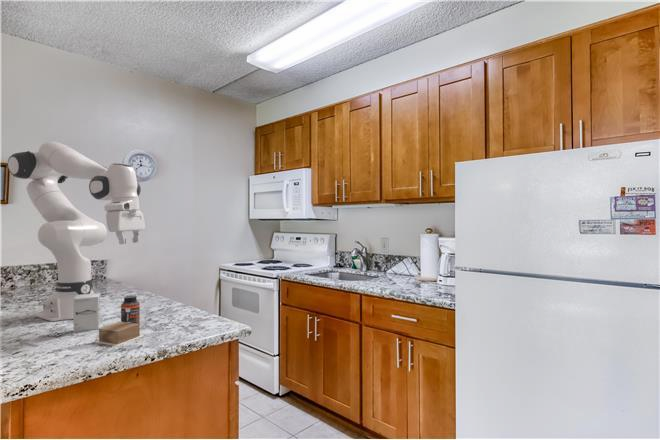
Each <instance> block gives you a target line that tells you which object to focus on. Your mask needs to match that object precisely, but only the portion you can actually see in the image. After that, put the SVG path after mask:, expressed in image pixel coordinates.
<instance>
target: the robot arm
mask: <svg viewBox="0 0 660 440" xmlns="http://www.w3.org/2000/svg"><path fill="white" fill-rule="evenodd" d="M7 169H8V172H9V173H10V174H11V175H12V176H13V177H15V178H18V179H23V180H27V179H29V180H31V181H29V183H28V184H27V186H26V192H27V195H28V197H29V199H30V201H31V202H32V204H33V206H34V208H35V209H36V210H37V211H38V213H39V214H40V215H41V217H42V218H43V219H44V220H45V221H46V222H45V223H43V224H42V225H41V226H40V227H39V229H38V230H37V239H38V241H39V243H40V244H41V245H42V246H43V247H44V248H46V249H48V250H49V251H50V252H51V253H52V255H53V256H54V259H55V261H56V264H57V276H58V277H57V279H58V281H57V282H55V283H54V287H55V288H54V292H53V293H51V295H49V296H47V298H46V299H45V300H44V301H43V303H42V311H39V312H37V313H35V314H34V316H35V317H36V318H39V319H42V320H46V321H49V322H55V321H64V320H74V298H75V296H76V295H82V294H95V292H94V290H93V289H92V288H93V287H94V282H93V281H94V280H93V279H92V262H91V260H90V258H88V257H86V256H84V255H83V254H82V253H81V251H80V247H91V246H94V245H98V244H100V243H101V244H102V243H103V242H104V241H105V240H106V238H107V235H108V231H109V233H115V235H116V237H117V239H118V244H119V245H125V244H126V245H127V239H126V238H125V235H124V234H125V232H132V234H133V237H132V243H133V244H134V243H140V236H141V231H145V229H146V223H145V217H144V213H143V212H142V211H141V210H140V209H141V208H140V202H139V201H140V200H139V196H140V194H141V191H142V190H141V185H140V182H139V181H138V179H137V175H136V171H135V167H133V166H132V165H131V164H125V163H111V164H110V165H109V166H108V167H106V166H104V165H102V164H99V163H98V162H96V161H94V160H92V159H91V158H88V157H87V156H86V155H83V153H80V152H78V151H77V150H76V149H74V148H72V147H70V146H68V145H66V144H63V143H62V142H58V141H54V140H53V141H52V140H51V141H50V140H49V141H47V142H44V143H42V144H41V145H40V147H39V148H38V151H37V152H32V151H30V150H28V151H22V152H16V153H13V154H11V155H10V156H9V157H8V159H7ZM68 178H72V179H77V180H78V179H79V180H89V185H88V187H89V188H88V190H89V193H90V196H92V197H93V198H94V199H95V200H100V201H109V203H106V205H104V211H105V212H106V214H105V217H106V218H105V219H106V226H105V224H104V223H103V222H100V221H99V220H95V219H94V218H91V217H90V216H88V215H87V214H84V213H83V212H82V211H80V210H79V209H78V208H76V207H75V206H74V205H73V204H72V202H71V201H70V200H69V199H68V198H67V196H66V195H65V194H64V193H63V191H62V190H61V189H60V187H59V185H58V184H63V183H64V182H65V181H66V180H67V179H68ZM110 201H111V202H110ZM106 227H107V228H106Z"/></svg>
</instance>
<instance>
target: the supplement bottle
mask: <svg viewBox="0 0 660 440" xmlns="http://www.w3.org/2000/svg"><path fill="white" fill-rule="evenodd" d="M137 299H138V297H137V295H125V296H124V297H123V302H122V303H121V305H120V322H127V323H135V324H140V321H141V320H140V318H141V317H140V316H141V315H140V313H141V312H140V302H139V301H138V300H137Z"/></svg>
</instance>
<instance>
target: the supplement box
mask: <svg viewBox="0 0 660 440" xmlns="http://www.w3.org/2000/svg"><path fill="white" fill-rule="evenodd" d="M100 325H101V292H97V293H96V292H94V294H82V295H76V296H75V298H74V319H73V330H72V331H73V334H74V333H78V332H87V331H95V330H99V329H100Z"/></svg>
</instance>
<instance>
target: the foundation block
mask: <svg viewBox="0 0 660 440" xmlns="http://www.w3.org/2000/svg"><path fill="white" fill-rule="evenodd" d="M140 330H141V327H140V323H139V324H135V323H127V322H121V321H120V322H117V323H113V324H109V325H107V326H103V327H99V328H98V341H99V342H106V343H112V344H121V343H123V342H126V341H128V340H131V339H133V338H136V337H139V336H140V335H141V334H140V333H141V331H140Z"/></svg>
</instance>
